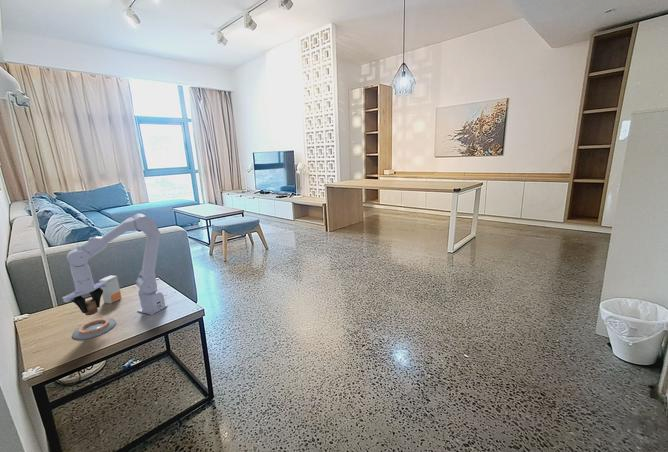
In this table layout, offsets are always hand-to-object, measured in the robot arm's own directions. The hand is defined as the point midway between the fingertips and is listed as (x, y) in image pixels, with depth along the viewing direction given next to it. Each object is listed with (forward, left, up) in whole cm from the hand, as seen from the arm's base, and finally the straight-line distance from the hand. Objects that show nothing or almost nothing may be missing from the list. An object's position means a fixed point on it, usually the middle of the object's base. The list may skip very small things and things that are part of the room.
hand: (91, 309), depth 117 cm
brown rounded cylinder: (0, 0, -1) cm, 1 cm away
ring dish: (-1, +1, -8) cm, 8 cm away
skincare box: (+17, -18, -9) cm, 27 cm away
